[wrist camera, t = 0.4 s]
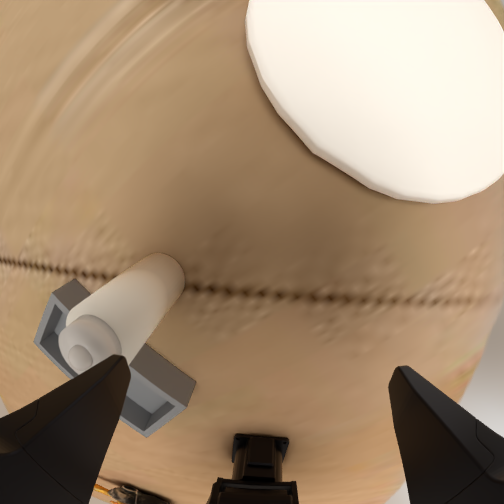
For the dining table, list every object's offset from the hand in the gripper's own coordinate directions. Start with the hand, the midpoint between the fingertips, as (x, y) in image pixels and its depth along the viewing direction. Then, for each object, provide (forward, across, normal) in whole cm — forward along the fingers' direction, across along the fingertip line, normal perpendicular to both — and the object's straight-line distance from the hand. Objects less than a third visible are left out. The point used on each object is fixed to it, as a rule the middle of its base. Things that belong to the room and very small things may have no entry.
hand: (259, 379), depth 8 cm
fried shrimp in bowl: (+10, +24, +49) cm, 56 cm away
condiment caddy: (+14, +16, +14) cm, 25 cm away
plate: (+18, -11, -17) cm, 27 cm away
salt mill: (+15, +9, +4) cm, 18 cm away
